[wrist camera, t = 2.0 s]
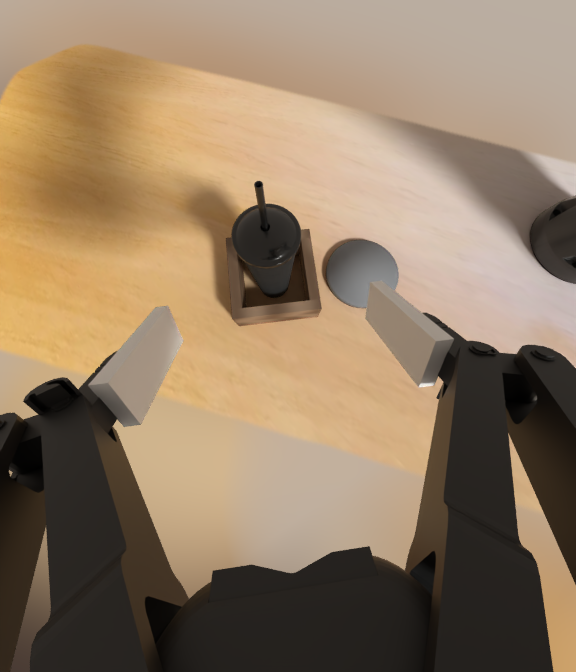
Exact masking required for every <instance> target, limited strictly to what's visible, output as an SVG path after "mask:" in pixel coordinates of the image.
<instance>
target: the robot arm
mask: <svg viewBox="0 0 576 672" xmlns="http://www.w3.org/2000/svg"><path fill="white" fill-rule="evenodd" d="M531 245H532V248H533V251H534V253H535V255H536V257H537V259H538V260H539V262H540V263H541V264H542V265H543V266H544V267H545V268H546V269H547V270H548V271H549V272H550V273H552V274H553V275H555V276H556V277H558V278H560V279H562V280H564V281H567V282H570V283H574V284H576V196H573V197H570V198H568V199H565V200H563V201H561V202H559V203H557V204H555V205H554V206H552V207H550V208H549V209H547V210H546V211H544V212H543V213H541V214H540V215H539V216H538V217H537V218H536V220H535V221H534V223H533V226H532V229H531ZM365 319H366V320H367V321H368V322H369V324H370V325H371V326H372V328H373V329H374V330H375V332H376V333H377V334H378V335H379V337H380V338H381V339H382V341H383V342H384V343H385V344H386V346H387V347H388V348H389V350H390V351H391V352H392V354H393V355H394V356H395V357H396V359H397V360H398V361H399V363H400V364H401V365H402V367H403V368H404V369H405V370H406V372H407V373H408V374H409V376H410V377H411V378H412V379H413V381H414V382H415V383H416V385H417V386H418V387H425V386H433V385H435V382H436V380H437V378H438V376H439V377H440V378H441V379H442V381H443V382H444V383H443V385H442V387H441V389H440V391H439V393H438V396H437V399H439V403H438V409H437V414H436V420H435V426H434V431H433V437H432V442H431V448H430V454H429V459H428V465H427V471H426V476H425V482H424V487H423V493H422V499H421V504H420V510H419V515H418V521H417V527H416V532H415V536H414V539H413V542H412V545H411V548H410V551H409V554H408V558H407V563H406V568H405V571H404V570H403V569H402V568H400V567H399V566H397V565H395V564H393V563H391V562H389V561H387V560H385V559H382V558H379V557H376V556H372V553H371V550H370V547H362V548H356V549H349V550H343V551H337V552H332V553H330V554H328V555H326V556H324V557H323V558H321V559H319V560H317V561H315V562H314V563H312V564H310V565H308V566H307V567H305V568H303V569H301V570H300V571H298V572H296V573H286V572H282V571H277V570H273V569H268V568H264V567H259V566H255V565H247V566H241V567H235V568H228V569H222V570H215V571H213V574H212V581H211V582H210V583H208V584H207V585H205V586H204V587H203V588H201V589H200V590H199V591H197V592H196V593H195V594H194V595H193V596H192V597H191V598H190V599H189V598H188V596H187V594H186V592H185V590H184V588H183V586H182V585H181V583H180V582H179V581H178V579H177V578H176V577H175V575H174V573H173V572H172V570H171V567H170V565H169V562H168V560H167V557H166V555H165V552H164V550H163V547H162V544H161V542H160V539H159V537H158V534H157V532H156V529H155V527H154V524H153V522H152V519H151V517H150V514H149V512H148V509H147V507H146V504H145V502H144V499H143V497H142V494H141V491H140V489H139V486H138V484H137V482H136V479H135V476H134V474H133V471H132V469H131V466H130V464H129V461H128V459H127V456H126V454H125V451H124V449H123V446H122V444H121V441H120V439H119V436H118V434H117V431H116V430H115V429H114V428H113V427H112V426H113V425H114V423H115V422H116V420H117V419H118V421H119V422H120V423H121V424H122V425H123V426H124V427H126V426H134V425H141V423H142V421H143V419H144V417H145V415H146V413H147V411H148V409H149V408H150V406H151V403H152V402H153V400H154V398H155V396H156V394H157V392H158V390H159V388H160V386H161V384H162V382H163V380H164V378H165V376H166V374H167V372H168V370H169V368H170V366H171V364H172V362H173V360H174V358H175V356H176V354H177V352H178V350H179V348H180V346H181V344H182V342H183V339H182V337H181V334H180V332H179V330H178V327H177V325H176V323H175V321H174V318H173V316H172V314H171V312H170V309H169V307H168V306H162V307H155V309H154V310H153V311H152V312H151V313H150V314H149V316H148V317H147V318H146V319H145V320H144V321H143V322H142V324H141V325H140V326H139V327H138V328H137V329H136V331H135V332H134V333H133V334H132V335H131V336H130V337H129V339H128V340H127V341H126V342H125V343H124V344H123V345H122V347H121V348H120V349H119V350H118V351H116V352H114V353H113V354H112V355H110V356H109V357H107V358H106V359H105V360H104V361H103V363H102V364H101V365H100V367H98V368H97V369H96V370H95V373H93V374H92V375H91V376H90V377H89V378H88V379H87V380H86V382H85V383H84V384H83V385H82V386H81V387H80V388H79V389H77V388H76V387H75V386H74V385H73V384H72V383H71V381H70V380H69V379H68V378H57V379H53V380H50V381H48V382H45V383H43V384H42V385H40V386H38V387H36V388H35V389H33V390H32V391H31V392H30V393H29V394H28V395H27V396H26V397H25V399H24V401H23V402H24V403H26V404H27V405H28V406H29V407H31V408H32V409H33V410H34V411H35V412H36V413H38V414H39V415H36V416H33V417H30V418H27V419H24V420H23V419H22V418H21V417H19V416H18V415H17V414H15V413H6V414H3V415H0V672H10V669H11V665H12V661H13V657H14V653H15V649H16V645H17V641H18V637H19V633H20V628H21V625H22V621H23V617H24V613H25V609H26V605H27V600H28V596H29V592H30V588H31V584H32V580H33V576H34V571H35V568H36V564H37V560H38V555H39V551H40V548H41V544H42V539H43V535H44V531H45V527H46V529H47V546H48V562H49V563H48V564H49V582H50V598H51V614H50V618H49V620H48V622H47V623H46V624H45V625H44V626H43V627H42V628H41V629H40V630H39V631H38V632H37V634H36V637H35V639H34V641H33V644H32V648H31V657H30V672H553V666H552V659H551V652H550V645H549V637H548V630H547V624H546V617H545V609H544V602H543V595H542V588H541V581H540V575H539V571H538V567H537V563H536V561H535V559H534V557H533V555H532V553H530V552H529V551H528V550H527V549H525V548H524V547H523V546H522V545H521V543H520V541H519V536H518V529H517V519H516V509H515V497H514V487H513V477H512V467H511V457H510V447H509V437H508V433H509V435H510V437H511V439H512V442H513V444H514V446H515V448H516V451H517V453H518V455H519V457H520V460H521V462H522V464H523V467H524V469H525V471H526V473H527V476H528V478H529V480H530V482H531V485H532V487H533V489H534V491H535V494H536V496H537V498H538V500H539V503H540V505H541V507H542V510H543V512H544V514H545V516H546V519H547V521H548V523H549V525H550V528H551V530H552V532H553V534H554V537H555V539H556V541H557V543H558V546H559V548H560V550H561V552H562V555H563V557H564V559H565V561H566V563H567V566H568V568H569V571H570V573H571V575H572V577H573V579H574V582H575V584H576V368H575V367H574V366H573V365H572V364H571V363H570V362H569V361H568V360H567V359H566V358H565V357H564V356H563V355H561V354H560V353H558V352H556V351H554V350H553V349H550V348H547V347H544V346H537V345H525V346H522V347H521V348H520V350H519V351H518V353H517V354H507V353H499V351H497V350H496V349H495V348H494V347H492V346H490V345H488V344H485V343H481V342H476V341H466V340H465V339H464V338H462V337H461V336H460V335H459V334H457V333H456V332H455V331H453V330H452V329H451V328H448V326H447V325H445V324H444V323H442V322H441V321H440V320H439V319H438V318H436V317H435V316H432V315H430V314H428V313H421V312H420V311H419V310H418V309H416V308H415V307H414V306H413V305H411V304H410V303H409V302H408V301H406V300H405V299H404V298H403V297H401V296H400V295H399V294H398V293H396V292H395V291H394V290H393V289H392V288H390V287H389V286H388V285H387V284H385V283H384V282H383V281H375V282H370V288H369V295H368V303H367V310H366V317H365ZM9 470H10V471H12V472H13V473H12V475H11V477H10V474H9Z"/></svg>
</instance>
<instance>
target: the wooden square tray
mask: <svg viewBox="0 0 576 672" xmlns="http://www.w3.org/2000/svg"><path fill="white" fill-rule="evenodd" d="M226 246H227V259H228V271H229V283H230V296H231V308H232V319H233V320H234V321H235V322H236V323H237V324H238V325H239V326H244V325H253V324H261V323H270V322H278V321H286V320H295V319H303V318H312V317H318V315H319V313H320V311H321V309H322V308H321V302H320V295H319V289H318V282H317V276H316V269H315V263H314V256H313V250H312V243H311V237H310V231H309V229H304V230H301V242H300V246H299V249H298V251H297V252H296V254H295V255H298V254H299V255H300V262H301V269H302V276H303V283H304V290H305V297H306V301H299V302H290V303H282V304H273V305H265V306H256V307H248V308H247V306H246V295H245V284H244V273H243V263H242V261H243V260H242V259H241V258H240V257H239V256H238V254H237V253H236V251H235V249H234V247H233V244H232V237H231V238H226Z"/></svg>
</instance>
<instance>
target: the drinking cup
mask: <svg viewBox="0 0 576 672" xmlns="http://www.w3.org/2000/svg"><path fill="white" fill-rule="evenodd" d="M254 185H255V191H256V197H257V202H258V205H255V206H253V207H250V208H248V209H247V210H245V211H244V212H243V213H242V214H241V215H240V216H239V217H238V218H237V220H236V221H235V223H234V226H233V229H232V244H233V247H234V249H235V251H236V253H237V254H238V256H239V257H240V258H241V259H242V260H243V261H244V262H245V264H246V265H247V267H248V269H249V270H250V272H251V274H252V275H253V277H254V279H255V280H256V282H257V284H258V286H259V287H260V289H261V291H262V292H263V293H264V294H265V295H266V296H268V297H272V298H276V297H280V296H282V295H283V294H284V293H285V292H286V291H287V288H288V285H289V280H290V276H291V271H292V267H293V263H294V258H295V254H296V252H297V251H298V249H299V246H300V242H301V229H300V225H299V223H298V221H297V219H296V218H295V216H294V215H293V214H292V213H291V212H290V211H288V210H287V209H285V208H283V207H281V206H278V205H275V204H265V197H264V190H263V183H262V182H261V181H257V182H255V184H254Z"/></svg>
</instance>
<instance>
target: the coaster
mask: <svg viewBox="0 0 576 672" xmlns="http://www.w3.org/2000/svg"><path fill="white" fill-rule="evenodd" d="M326 279H327V283H328V285H329V288H330V290H331V291H332V293H333V294H334V295H335V296H336V297H337V298H338V299H339V300H340V301H342V302H343V303H345V304H347V305H349V306H352V307H356V308H367V303H368V295H369V288H370V282H375V281H383V282H384V283H385V284H387V285H388V286H389V287H390V288H392V289H393V290H395V288H396V286H397V283H398V267H397V264H396V262H395V260H394V258H393V256H392V255H391V254H390V253H389V252H388V251H387V250H386V249H385V248H384V247H382V246H381V245H379V244H377V243H375V242H372V241H367V240H354V241H350V242H347V243H345V244H343V245H341V246H340V247H338V248H337V249H336V250H335V251H334V252H333V254H332V255H331V257H330V259H329V262H328V265H327V269H326Z"/></svg>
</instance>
